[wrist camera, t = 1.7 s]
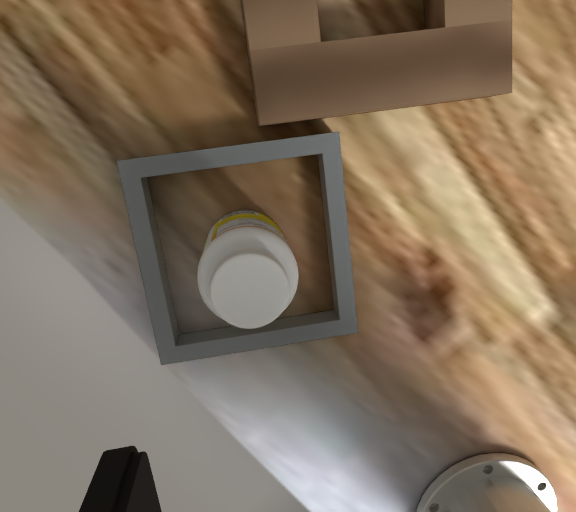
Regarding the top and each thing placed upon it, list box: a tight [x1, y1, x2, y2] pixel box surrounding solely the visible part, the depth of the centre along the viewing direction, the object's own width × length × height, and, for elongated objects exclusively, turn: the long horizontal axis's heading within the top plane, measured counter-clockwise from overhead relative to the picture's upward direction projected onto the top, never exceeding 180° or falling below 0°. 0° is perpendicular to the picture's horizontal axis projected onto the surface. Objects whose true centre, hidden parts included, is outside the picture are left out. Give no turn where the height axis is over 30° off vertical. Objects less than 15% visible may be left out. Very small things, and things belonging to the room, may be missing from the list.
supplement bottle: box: [197, 209, 299, 329], centre depth 27 cm, size 6×6×10 cm
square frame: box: [117, 132, 358, 365], centre depth 31 cm, size 14×14×2 cm
